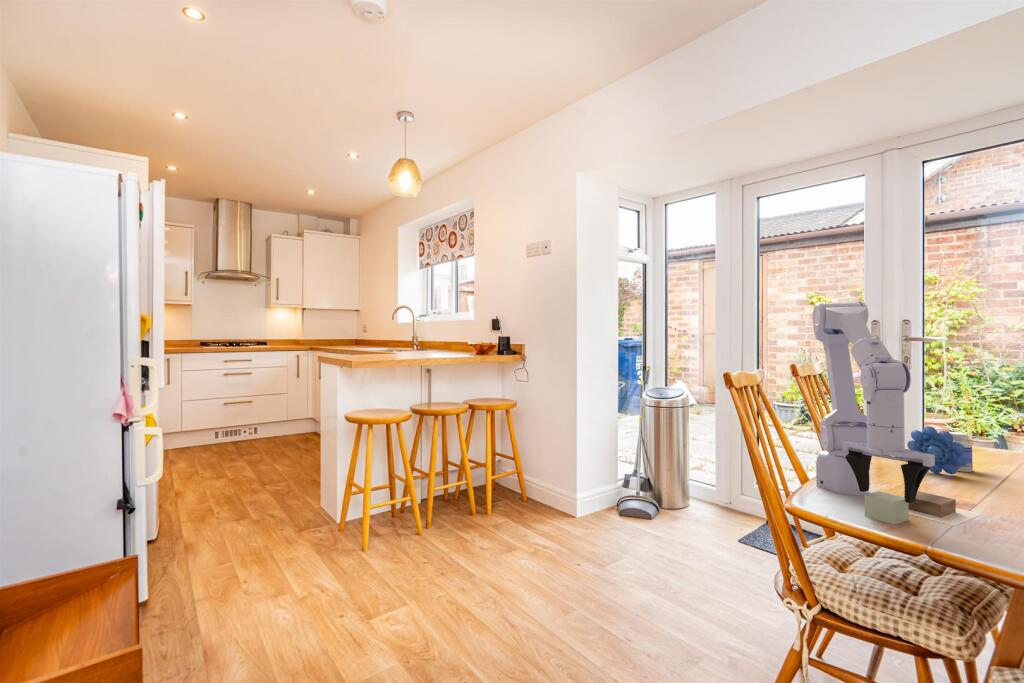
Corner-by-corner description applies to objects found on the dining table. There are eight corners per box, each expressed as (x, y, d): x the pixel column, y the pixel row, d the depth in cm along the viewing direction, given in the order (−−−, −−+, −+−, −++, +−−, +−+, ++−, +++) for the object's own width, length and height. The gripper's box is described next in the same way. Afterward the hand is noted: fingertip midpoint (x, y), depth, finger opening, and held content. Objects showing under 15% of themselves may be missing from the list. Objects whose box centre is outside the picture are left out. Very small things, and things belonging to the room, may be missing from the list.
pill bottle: (978, 472, 126) (978, 434, 126) (958, 472, 126) (957, 435, 126) (959, 466, 131) (958, 431, 131) (939, 467, 131) (938, 431, 131)
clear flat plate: (879, 510, 99) (879, 506, 99) (909, 500, 105) (909, 496, 105) (954, 530, 89) (954, 525, 89) (982, 518, 94) (982, 514, 94)
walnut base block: (904, 508, 98) (904, 495, 98) (918, 503, 101) (918, 491, 101) (941, 517, 93) (941, 504, 93) (955, 512, 95) (955, 499, 95)
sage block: (864, 520, 94) (864, 495, 94) (878, 516, 96) (878, 491, 96) (894, 529, 90) (894, 502, 90) (908, 524, 92) (908, 498, 92)
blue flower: (904, 472, 127) (904, 426, 127) (909, 467, 131) (908, 423, 131) (965, 481, 118) (964, 432, 118) (967, 475, 123) (967, 428, 123)
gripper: (833, 421, 97) (834, 489, 97) (920, 433, 85) (922, 510, 85) (853, 418, 101) (854, 484, 101) (940, 429, 88) (941, 504, 88)
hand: (886, 496), depth 93 cm, fingers open, 7 cm apart
